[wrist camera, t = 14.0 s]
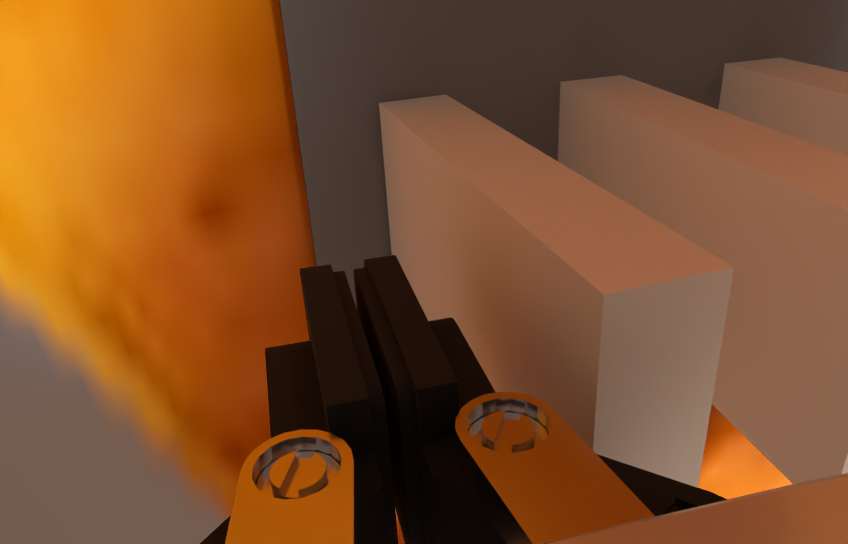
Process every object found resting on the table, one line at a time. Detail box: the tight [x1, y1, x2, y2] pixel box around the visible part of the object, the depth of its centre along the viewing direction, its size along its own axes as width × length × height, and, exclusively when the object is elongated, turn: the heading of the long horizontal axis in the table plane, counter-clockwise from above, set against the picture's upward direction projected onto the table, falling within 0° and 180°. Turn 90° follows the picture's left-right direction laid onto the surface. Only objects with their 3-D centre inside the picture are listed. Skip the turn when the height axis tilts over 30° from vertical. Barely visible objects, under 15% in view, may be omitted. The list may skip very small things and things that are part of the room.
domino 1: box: [379, 94, 734, 488], centre depth 14 cm, size 2×5×11 cm, turn 4°
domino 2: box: [558, 75, 848, 484], centre depth 15 cm, size 2×5×11 cm, turn 3°
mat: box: [279, 0, 848, 308], centre depth 21 cm, size 28×12×1 cm, turn 93°
